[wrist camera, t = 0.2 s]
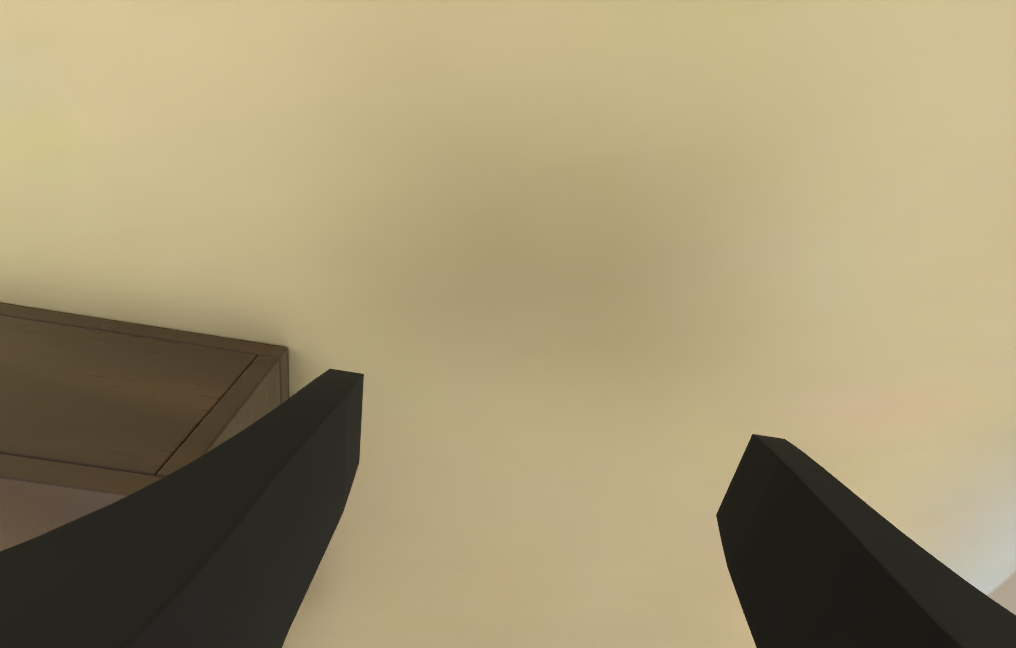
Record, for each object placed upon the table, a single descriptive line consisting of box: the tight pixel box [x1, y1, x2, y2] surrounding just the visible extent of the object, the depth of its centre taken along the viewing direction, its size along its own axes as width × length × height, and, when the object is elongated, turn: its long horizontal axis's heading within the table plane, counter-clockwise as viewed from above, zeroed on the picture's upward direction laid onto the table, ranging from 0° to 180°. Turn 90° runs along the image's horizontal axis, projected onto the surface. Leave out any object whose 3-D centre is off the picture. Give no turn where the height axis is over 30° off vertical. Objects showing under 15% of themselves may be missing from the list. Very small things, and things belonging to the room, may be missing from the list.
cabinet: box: [0, 303, 289, 551], centre depth 21 cm, size 15×14×8 cm
